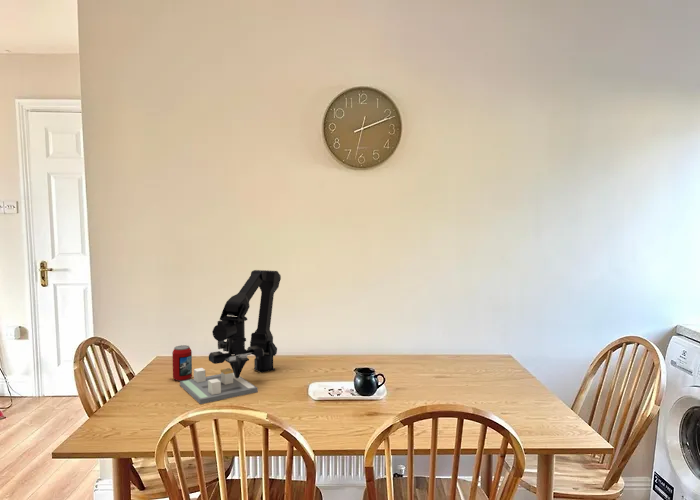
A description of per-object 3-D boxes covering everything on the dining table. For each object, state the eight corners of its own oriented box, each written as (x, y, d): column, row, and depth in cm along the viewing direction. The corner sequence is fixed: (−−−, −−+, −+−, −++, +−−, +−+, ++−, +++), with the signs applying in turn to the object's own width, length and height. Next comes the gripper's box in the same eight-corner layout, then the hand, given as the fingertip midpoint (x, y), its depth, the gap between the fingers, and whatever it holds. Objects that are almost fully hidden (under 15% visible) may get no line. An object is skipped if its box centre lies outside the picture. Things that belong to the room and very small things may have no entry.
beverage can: (186, 382, 182) (185, 349, 181) (169, 381, 183) (168, 348, 182) (195, 376, 188) (194, 345, 188) (179, 375, 190) (178, 344, 189)
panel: (233, 375, 190) (233, 371, 190) (257, 392, 172) (257, 387, 172) (179, 385, 178) (179, 381, 178) (200, 404, 160) (200, 399, 160)
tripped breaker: (229, 380, 179) (229, 367, 179) (233, 383, 176) (233, 370, 176) (221, 381, 177) (220, 369, 177) (224, 384, 174) (224, 372, 174)
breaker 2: (216, 390, 169) (216, 378, 169) (220, 393, 166) (220, 381, 166) (208, 391, 167) (208, 380, 167) (211, 394, 164) (211, 383, 164)
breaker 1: (202, 378, 181) (202, 367, 181) (205, 381, 178) (205, 370, 178) (193, 380, 179) (193, 369, 179) (197, 382, 176) (197, 371, 176)
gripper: (251, 327, 190) (251, 368, 191) (203, 334, 179) (203, 376, 180) (264, 333, 181) (264, 375, 182) (214, 340, 170) (214, 385, 171)
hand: (236, 377), depth 179 cm, fingers closed
